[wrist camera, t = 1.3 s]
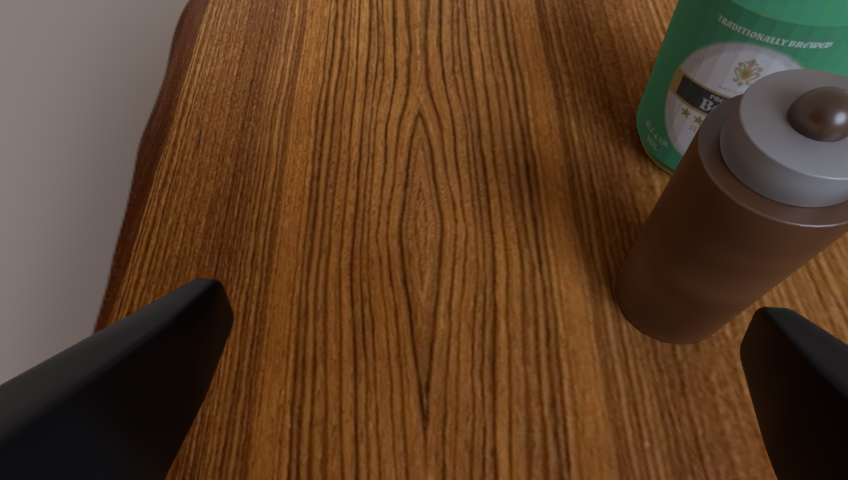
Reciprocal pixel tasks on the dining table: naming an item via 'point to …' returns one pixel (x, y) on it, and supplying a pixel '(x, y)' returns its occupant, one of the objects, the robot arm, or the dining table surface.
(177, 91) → the dining table surface
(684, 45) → the beverage can
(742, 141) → the pepper mill
